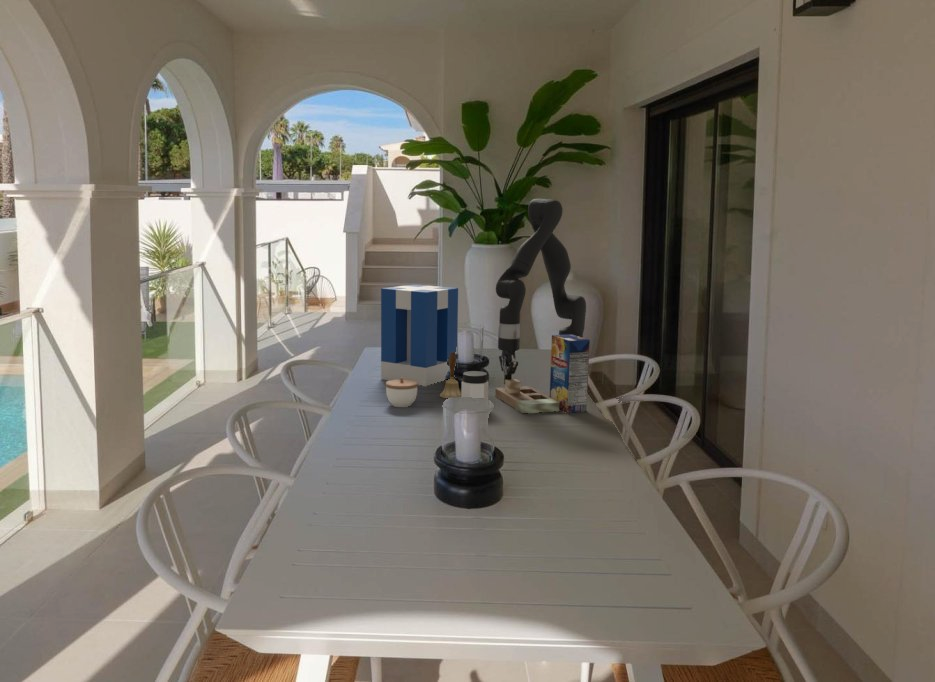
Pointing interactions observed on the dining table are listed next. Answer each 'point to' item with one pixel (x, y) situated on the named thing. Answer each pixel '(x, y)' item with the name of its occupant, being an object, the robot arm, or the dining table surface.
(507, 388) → the beech block
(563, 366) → the juice carton
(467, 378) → the jar
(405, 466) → the dining table surface
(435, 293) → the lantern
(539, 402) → the wooden compartment tray
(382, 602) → the dining table surface
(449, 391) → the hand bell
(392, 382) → the lidded jar
